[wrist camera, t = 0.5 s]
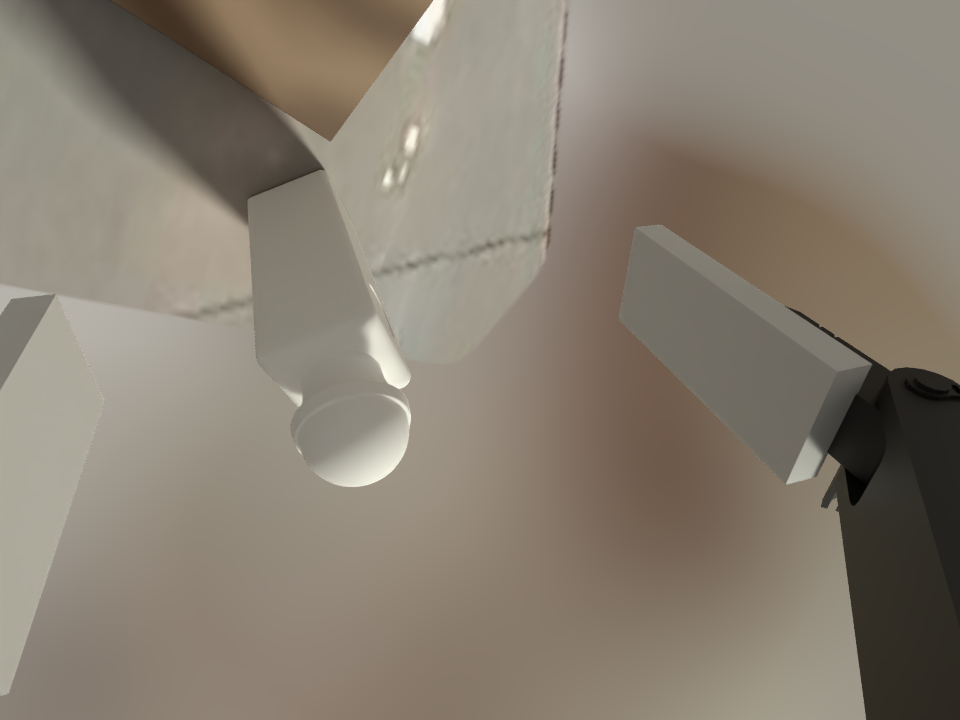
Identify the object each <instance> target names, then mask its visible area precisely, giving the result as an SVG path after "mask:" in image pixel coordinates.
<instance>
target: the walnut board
mask: <svg viewBox="0 0 960 720" xmlns="http://www.w3.org/2000/svg"><path fill="white" fill-rule="evenodd" d="M111 1H113V2H114V3H116V4H117V5H119V6H120V7H122V8H123V9H125V10H127V11H128V12H130V13H131V14H133V15H134V16H136V17H137V18H139V19H141V20H142V21H144V22H145V23H147V24H148V25H150V26H151V27H153V28H155V29H156V30H158V31H159V32H161V33H162V34H164V35H165V36H167V37H169V38H170V39H172V40H173V41H175V42H176V43H178V44H179V45H181V46H183V47H184V48H186V49H187V50H189V51H190V52H192V53H193V54H195V55H197V56H198V57H200V58H201V59H203V60H204V61H206V62H207V63H209V64H211V65H212V66H214V67H215V68H217V69H218V70H220V71H221V72H223V73H225V74H226V75H228V76H229V77H231V78H232V79H234V80H235V81H237V82H239V83H240V84H242V85H243V86H245V87H246V88H248V89H249V90H251V91H252V92H254V93H256V94H257V95H259V96H260V97H262V98H263V99H265V100H266V101H268V102H270V103H271V104H273V105H274V106H276V107H277V108H279V109H280V110H282V111H284V112H285V113H287V114H288V115H290V116H291V117H293V118H294V119H296V120H298V121H299V122H301V123H302V124H304V125H305V126H307V127H308V128H310V129H312V130H313V131H315V132H316V133H318V134H319V135H321V136H322V137H324V138H326V139H327V140H329V141H330V142H331V140H332V139H333V138H334V136H335V135H336V133H337V132H338V131H339V129H340V128H341V127H342V125H343V124H344V122H345V121H346V120H347V118H348V117H349V116H350V114H351V113H352V111H353V110H354V109H355V107H356V106H357V105H358V103H359V102H360V100H361V99H362V98H363V96H364V95H365V94H366V92H367V91H368V89H369V88H370V87H371V85H372V84H373V83H374V81H375V80H376V78H377V77H378V76H379V74H380V73H381V72H382V70H383V69H384V67H385V66H386V65H387V63H388V62H389V61H390V59H391V58H392V56H393V55H394V54H395V52H396V51H397V50H398V48H399V47H400V45H401V44H402V43H403V41H404V40H405V39H406V37H407V36H408V34H409V33H410V32H411V30H412V29H413V28H414V26H415V25H416V23H417V22H418V21H419V19H420V18H421V17H422V15H423V14H424V12H425V11H426V10H427V8H428V7H429V6H430V4H431V3H432V1H433V0H111Z"/></svg>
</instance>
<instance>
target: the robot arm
mask: <svg viewBox="0 0 960 720" xmlns="http://www.w3.org/2000/svg"><path fill="white" fill-rule="evenodd" d="M619 320H620V321H621V322H622V323H623V324H624V325H625V326H626V327H627V328H628V329H629V330H630V331H631V332H632V333H633V334H634V335H635V336H636V337H637V338H638V339H639V340H640V341H641V342H642V343H643V344H644V345H645V346H646V347H647V348H648V349H649V350H650V351H651V352H652V353H653V354H654V355H655V356H656V357H657V358H658V359H660V361H661V362H662V363H663V364H664V365H666V367H667V368H668V369H669V370H670V371H671V372H672V373H673V374H675V376H676V377H677V378H678V379H680V381H681V382H682V383H684V384H685V386H686V387H688V388H689V389H690V390H691V391H692V392H693V393H694V394H695V395H696V396H697V397H698V398H699V399H700V400H701V401H702V402H703V403H704V404H705V405H706V406H707V407H708V408H709V409H710V410H711V411H712V412H713V413H714V414H715V415H716V416H717V417H718V418H719V419H720V420H721V421H722V422H723V423H724V424H725V425H726V426H727V427H728V428H729V429H730V430H731V431H732V432H733V433H734V434H735V435H736V436H737V437H738V438H739V439H740V440H741V441H742V442H743V443H744V444H745V445H746V446H747V447H748V448H749V449H750V450H751V451H752V452H753V453H754V454H755V455H756V456H757V457H758V458H759V459H760V460H761V461H762V462H763V463H764V464H765V465H766V466H767V467H768V468H769V469H770V470H771V471H772V472H773V473H774V474H775V475H776V476H777V477H778V478H779V479H780V480H781V481H782V482H783V483H784V484H785V485H786V484H791V483H794V482H798V481H802V480H806V479H809V478H813V477H816V476H817V474H818V472H819V470H820V468H821V466H822V464H823V462H824V460H825V458H826V456H827V454H828V453H829V454H830V455H831V456H832V457H833V458H835V459H836V460H837V461H838V462H839V463H840V464H841V465H840V467H839V469H838V471H837V473H836V475H835V477H834V478H833V480H832V482H831V484H830V486H829V488H828V490H827V492H826V494H825V496H824V498H823V500H822V504H821V507H824V508H828V506H829V504H830V502H831V500H832V499H835V498H836V497H837V501H838V507H837V509H836V511H838V512H839V516H840V523H841V531H842V538H843V546H844V554H845V561H846V569H847V576H848V584H849V592H850V599H851V607H852V614H853V622H854V629H855V636H856V645H857V652H858V660H859V668H860V675H861V683H862V690H863V697H864V705H865V713H866V720H960V385H959V384H957V383H956V382H954V381H953V380H951V379H948V378H946V377H944V376H942V375H940V374H937V373H934V372H930V371H927V370H923V369H917V368H908V367H906V368H897V369H894V370H893V371H889V370H888V369H887V368H885V367H883V366H882V365H880V364H879V363H877V362H876V361H874V360H873V359H871V358H870V357H868V356H867V355H865V354H864V353H862V352H860V351H859V350H857V349H856V348H854V347H853V346H851V345H850V344H848V343H847V342H845V341H844V340H842V339H840V338H839V337H834V334H833V333H831V332H830V331H828V330H827V329H825V328H824V327H819V324H818V323H816V322H814V321H813V320H811V319H810V318H808V317H807V316H805V315H804V314H802V313H801V312H799V311H796V310H794V309H791V308H788V307H786V306H784V305H782V304H780V303H779V302H777V301H776V300H774V299H773V298H771V297H770V296H768V295H767V294H765V293H764V292H762V291H761V290H759V289H758V288H756V287H755V286H753V285H752V284H750V283H749V282H747V281H745V280H744V279H742V278H741V277H740V276H738V275H736V274H735V273H733V272H732V271H730V270H729V269H727V268H726V267H724V266H723V265H721V264H720V263H718V262H717V261H715V260H714V259H712V258H711V257H709V256H708V255H706V254H705V253H703V252H702V251H700V250H698V249H697V248H696V247H694V246H692V245H691V244H689V243H688V242H686V241H685V240H684V239H682V238H680V237H679V236H677V235H676V234H674V233H673V232H671V231H670V230H668V229H667V228H665V227H664V226H662V225H653V226H645V227H636V228H635V232H634V237H633V243H632V248H631V254H630V260H629V265H628V270H627V276H626V281H625V287H624V293H623V298H622V304H621V310H620V315H619ZM104 403H105V400H104V398H103V396H102V394H101V391H100V389H99V387H98V385H97V383H96V380H95V378H94V376H93V374H92V372H91V369H90V368H89V365H88V363H87V361H86V359H85V356H84V354H83V352H82V350H81V347H80V345H79V343H78V341H77V339H76V336H75V334H74V332H73V330H72V328H71V325H70V323H69V321H68V319H67V317H66V315H65V312H64V310H63V308H62V306H61V303H60V301H59V299H58V297H57V294H52V295H44V296H34V297H26V298H18V299H11V301H10V302H9V304H8V305H7V307H6V308H5V309H4V311H3V312H2V314H1V315H0V696H1V695H5V694H8V693H9V690H10V688H11V685H12V682H13V679H14V675H15V673H16V670H17V667H18V663H19V660H20V657H21V654H22V651H23V648H24V645H25V642H26V639H27V636H28V633H29V630H30V627H31V624H32V621H33V618H34V615H35V612H36V609H37V606H38V603H39V600H40V597H41V594H42V591H43V588H44V585H45V582H46V578H47V576H48V573H49V570H50V567H51V563H52V561H53V558H54V554H55V552H56V549H57V546H58V542H59V539H60V536H61V533H62V530H63V527H64V524H65V521H66V518H67V515H68V512H69V509H70V506H71V503H72V500H73V497H74V494H75V491H76V488H77V485H78V482H79V479H80V476H81V473H82V470H83V467H84V464H85V461H86V458H87V455H88V452H89V449H90V446H91V443H92V440H93V436H94V434H95V431H96V428H97V424H98V422H99V419H100V415H101V412H102V410H103V407H104Z"/></svg>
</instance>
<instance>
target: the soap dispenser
mask: <svg viewBox="0 0 960 720" xmlns="http://www.w3.org/2000/svg"><path fill="white" fill-rule="evenodd" d="M248 220H249V239H250V257H251V275H252V294H253V312H254V330H255V347H256V348H255V349H256V358H257V361H258V363H259V365H260V366H261V368H262V369H263V370H264V371H265V372H266V373H267V374H268V375H269V376H270V377H271V378H272V379H273V380H274V381H275V382H276V383H277V384H278V385H279V387H281V389H282V390H283V391H284V392H285V393H286V394H287V395H288V396H289V398H290V399H291V400H292V401H293V402H294V403H295V405H296V406H297V407H298V409H297V411H296V412H295V414H294V416H293V418H292V421H291V434H292V437H293V440H294V444H295V446H296V448H297V450H298V451H299V452H300V453H301V454H302V455H303V458H304V459H305V461H306V463H307V464H308V466H309V467H310V468H311V469H312V470H313V471H314V472H315V473H316V474H317V475H318V476H320V477H321V478H323V479H324V480H326V481H328V482H330V483H333V484H336V485H339V486H345V487H359V486H364V485H368V484H371V483H374V482H376V481H378V480H380V479H382V478H383V477H385V476H386V475H388V474H389V473H390V472H391V471H392V470H393V469H394V468H395V467H396V466H397V464H398V463H399V462H400V460H401V459H402V457H403V455H404V453H405V450H406V447H407V444H408V439H409V427H410V423H411V414H410V407H409V402H408V400H407V398H406V396H405V395H404V394H403V393H402V392H401V391H400V390H399V389H401V388H403V387H405V386H406V385H407V384H408V383H409V381H410V379H411V374H410V371H409V369H408V366H407V364H406V361H405V358H404V356H403V353H402V350H401V348H400V345H399V343H398V340H397V338H396V335H395V333H394V330H393V327H392V325H391V322H390V320H389V317H388V314H387V312H386V309H385V306H384V304H383V301H382V299H381V296H380V293H379V291H378V288H377V286H376V283H375V280H374V278H373V275H372V273H371V270H370V267H369V265H368V262H367V259H366V257H365V254H364V252H363V249H362V246H361V244H360V241H359V238H358V236H357V233H356V230H355V228H354V226H353V224H352V222H351V220H350V218H349V216H348V214H347V212H346V210H345V208H344V206H343V204H342V202H341V200H340V198H339V196H338V194H337V192H336V190H335V188H334V186H333V184H332V183H331V181H330V179H329V177H328V175H327V173H326V171H324V170H318V171H315V172H313V173H310V174H308V175H305V176H303V177H300V178H298V179H295V180H293V181H290V182H288V183H285V184H283V185H280V186H278V187H275V188H273V189H270V190H268V191H265V192H263V193H260V194H258V195H255V196H253V197H250V198H249V199H248Z"/></svg>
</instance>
